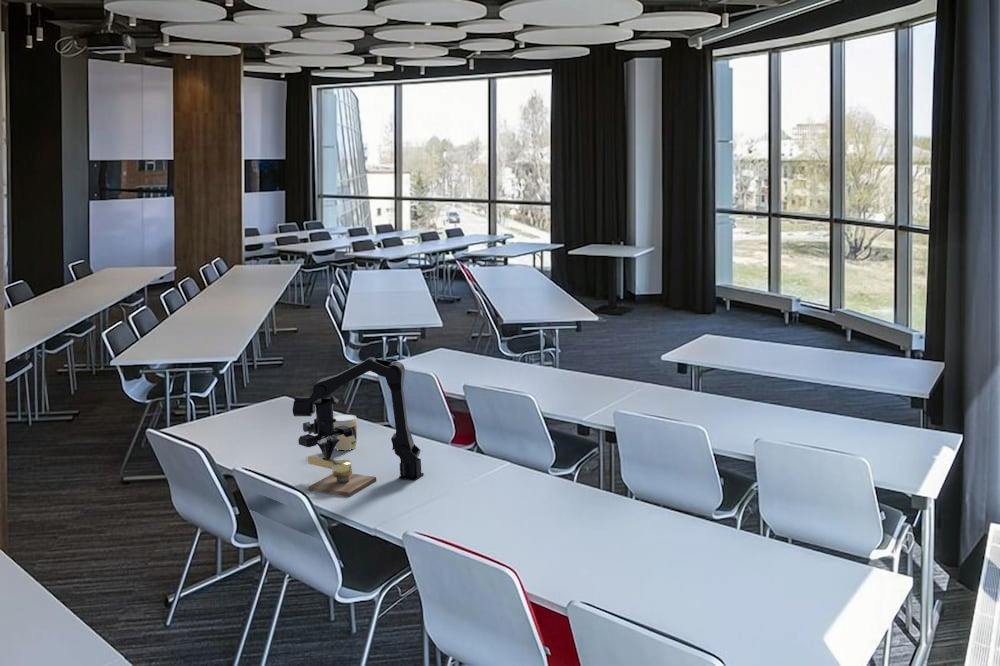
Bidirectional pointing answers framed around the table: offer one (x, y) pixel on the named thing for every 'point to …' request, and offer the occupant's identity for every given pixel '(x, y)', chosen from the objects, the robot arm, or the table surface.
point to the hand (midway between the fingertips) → (327, 460)
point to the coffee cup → (344, 442)
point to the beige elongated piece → (333, 465)
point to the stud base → (342, 484)
